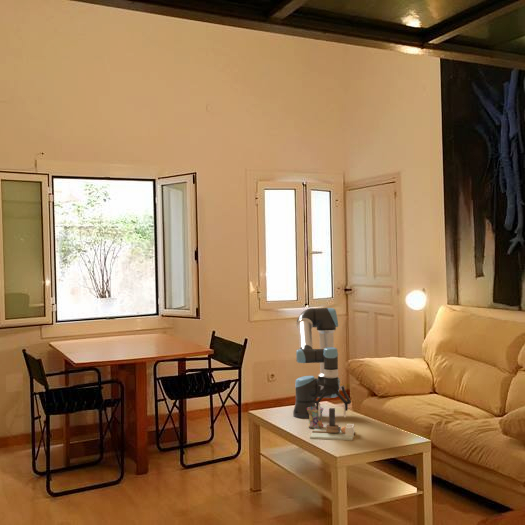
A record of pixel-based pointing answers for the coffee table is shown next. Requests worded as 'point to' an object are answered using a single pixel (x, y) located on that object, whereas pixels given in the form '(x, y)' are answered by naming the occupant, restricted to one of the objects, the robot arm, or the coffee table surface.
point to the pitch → (329, 435)
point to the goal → (349, 429)
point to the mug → (314, 417)
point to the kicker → (332, 422)
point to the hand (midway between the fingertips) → (332, 416)
